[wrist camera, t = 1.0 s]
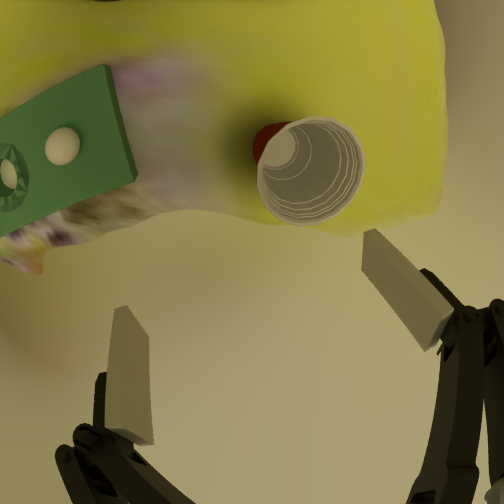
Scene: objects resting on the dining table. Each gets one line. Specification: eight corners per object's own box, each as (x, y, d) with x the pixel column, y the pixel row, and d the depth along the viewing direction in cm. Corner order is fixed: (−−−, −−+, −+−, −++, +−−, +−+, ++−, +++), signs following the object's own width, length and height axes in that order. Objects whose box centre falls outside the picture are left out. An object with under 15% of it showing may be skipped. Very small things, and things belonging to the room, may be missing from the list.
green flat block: (-27, 145, 20) (-46, 153, 16) (110, 66, 23) (99, 62, 19) (4, 230, 28) (-10, 245, 24) (137, 174, 31) (132, 186, 27)
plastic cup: (224, 182, 34) (245, 225, 24) (241, 98, 29) (274, 101, 19) (302, 193, 37) (347, 235, 28) (322, 117, 32) (380, 134, 22)
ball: (50, 133, 22) (34, 139, 19) (79, 119, 23) (66, 123, 19) (59, 165, 24) (45, 175, 21) (89, 152, 25) (77, 161, 22)
